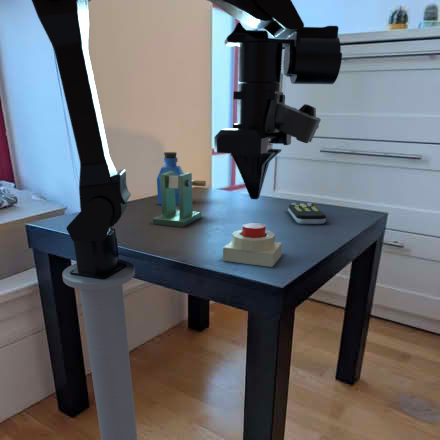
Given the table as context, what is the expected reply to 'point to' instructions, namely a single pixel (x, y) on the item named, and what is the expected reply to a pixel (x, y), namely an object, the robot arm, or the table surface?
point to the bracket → (169, 206)
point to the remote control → (306, 213)
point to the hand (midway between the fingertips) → (254, 198)
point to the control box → (253, 249)
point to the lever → (174, 182)
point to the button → (253, 230)
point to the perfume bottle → (169, 166)
